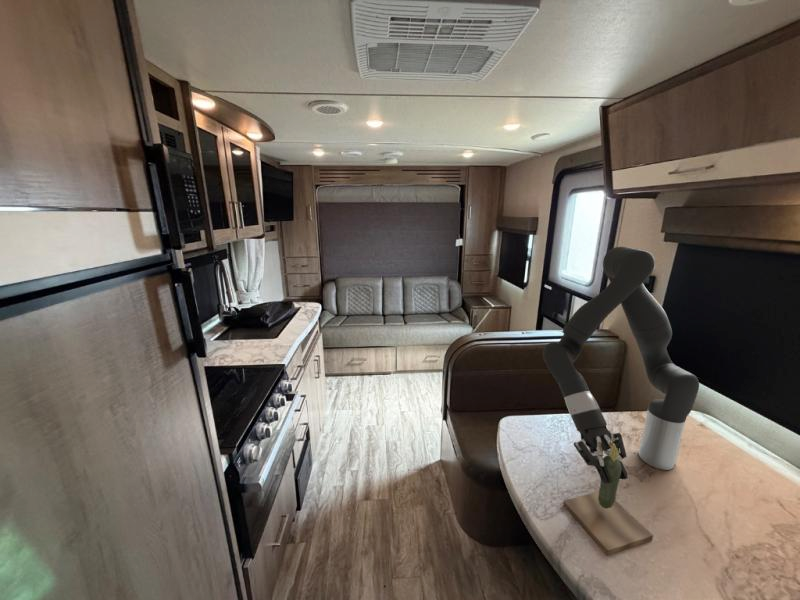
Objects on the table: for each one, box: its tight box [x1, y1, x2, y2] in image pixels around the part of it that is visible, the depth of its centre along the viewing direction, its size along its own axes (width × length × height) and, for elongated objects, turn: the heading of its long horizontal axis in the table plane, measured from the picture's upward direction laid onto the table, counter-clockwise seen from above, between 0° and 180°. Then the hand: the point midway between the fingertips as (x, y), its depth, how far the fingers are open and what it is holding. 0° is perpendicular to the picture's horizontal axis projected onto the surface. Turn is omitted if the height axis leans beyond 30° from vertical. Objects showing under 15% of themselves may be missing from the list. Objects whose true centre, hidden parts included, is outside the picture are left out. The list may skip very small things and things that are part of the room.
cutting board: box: [562, 490, 654, 556], centre depth 82 cm, size 14×14×2 cm
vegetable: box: [598, 441, 622, 508], centre depth 80 cm, size 4×4×20 cm
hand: (616, 480), depth 78 cm, fingers closed on vegetable, 4 cm apart
